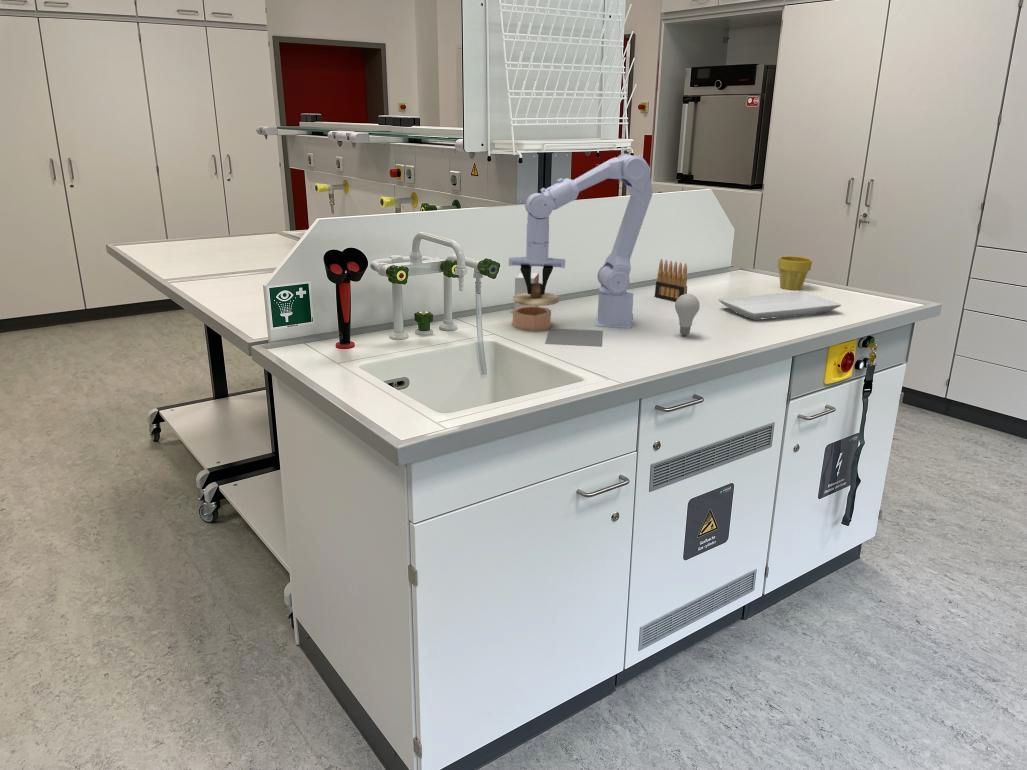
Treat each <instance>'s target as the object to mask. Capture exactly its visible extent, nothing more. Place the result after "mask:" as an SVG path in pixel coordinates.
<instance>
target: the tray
mask: <svg viewBox="0 0 1027 770" xmlns="http://www.w3.org/2000/svg"><path fill="white" fill-rule="evenodd" d="M717 301H718V302H720V303H721V304H722V305H723V306H724V307H726V308H728V309H729V310H731V311H732V312H733V311H734V313H736V312H737V313H736V314H738V313H740V314H739V315H741V314H742V315H741V316H743V315H745V316H744V317H746V316H747V317H746V318H748V317H749V319H751V318H752V320H755V319H757V320H762V319H761V318H767V319H773V318H772V317H777V318H784V317H783V316H787V317H794V315H797V316H803V315H804V316H806V314H807V315H814V314H815V313H817V314H824V313H826V312H829V311H832V310H835V309H837V308H840V307H841V306H842V305H841V304H840V303H838V302H836V301H833V300H830V299H826V298H823V297H820V296H818V295H814V294H812V293H809V292H806V291H788V292H787V291H786V292H775V293H767V294H756V295H755V294H754V295H744V296H735V297H734V296H733V297H732V296H731V297H721V298H718V299H717ZM815 315H816V314H815Z"/></svg>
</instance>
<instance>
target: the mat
mask: <svg viewBox="0 0 1027 770" xmlns="http://www.w3.org/2000/svg"><path fill="white" fill-rule="evenodd" d="M548 328H549V329H548V332H547V334H546V339H545V342H544V344H545V345H555V346H556V345H558V346H560V345H561V346H578V347H579V346H580V347H581V346H582V347H600V348H601V347H603V339H604V338H603V337H604V336H603V334H604V331H603V330H596V329H595V330H594V329H592V330H591V329H575V328H574V329H573V328H571V329H570V328H554V327H553V328H552V327H551V328H550V327H548Z"/></svg>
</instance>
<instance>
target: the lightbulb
mask: <svg viewBox="0 0 1027 770" xmlns="http://www.w3.org/2000/svg"><path fill="white" fill-rule="evenodd" d="M674 303H675V304H674V308H675V311H676V314H677V316H678V322H679V323H678V324H679V334H681V335H682V336H684V337H686V336H688V335H690V333H691V327H692V325H693V321H694V319H695V316H697V314H698V312H699V311H700V307H701V306H700V301H699V299H698V297H696V296H695V295H694V294H693V293H687V294H684V295H681V296H680V297H679V298H678V299H677V300H676V302H674Z"/></svg>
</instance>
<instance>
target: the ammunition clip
mask: <svg viewBox="0 0 1027 770" xmlns="http://www.w3.org/2000/svg"><path fill="white" fill-rule="evenodd" d="M657 270H658V271H657V277H656V279H657V280H656V282H655V289H654V298H655V297H656V299H659V298H660V300H664V301H669V302H673V303H676V300H677V299H678V298H679V297H680V296H681V295H684V294H688V286H687V281H688V266H687V263H684V265H683V264H682V262H679V264H678V263H677V261H675V262H674V264H673V260H670V261H669V262H668V259H666V260H665V261H663V259H662V258H661V259H660V261H659V264H658V269H657Z"/></svg>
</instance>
